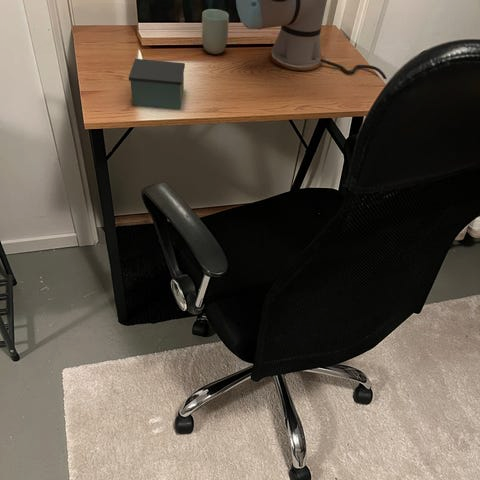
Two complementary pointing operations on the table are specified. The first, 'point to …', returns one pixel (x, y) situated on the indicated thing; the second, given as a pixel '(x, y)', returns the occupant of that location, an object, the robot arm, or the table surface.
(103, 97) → the table surface
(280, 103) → the table surface
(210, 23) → the cup
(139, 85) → the container
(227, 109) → the table surface
